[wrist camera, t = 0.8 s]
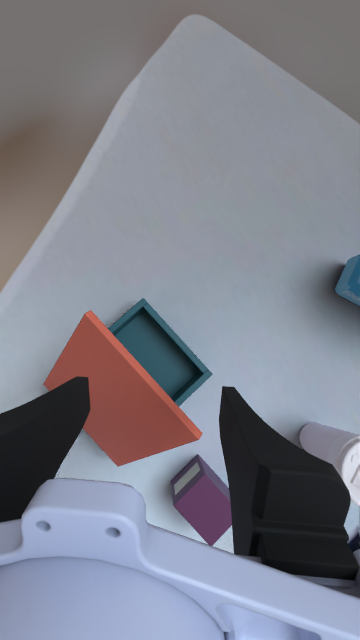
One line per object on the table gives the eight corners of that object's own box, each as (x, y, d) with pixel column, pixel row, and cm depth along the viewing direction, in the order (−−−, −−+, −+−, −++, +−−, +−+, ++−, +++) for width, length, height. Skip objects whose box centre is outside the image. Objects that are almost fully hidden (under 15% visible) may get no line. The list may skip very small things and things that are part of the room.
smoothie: (283, 419, 34) (370, 471, 20) (329, 405, 35) (446, 447, 21) (296, 470, 34) (395, 560, 20) (343, 456, 34) (471, 532, 20)
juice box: (202, 516, 32) (211, 547, 27) (170, 480, 32) (173, 505, 27) (229, 488, 33) (242, 514, 28) (197, 453, 33) (204, 473, 28)
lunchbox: (144, 302, 34) (143, 297, 30) (206, 370, 34) (212, 374, 30) (59, 377, 32) (46, 381, 28) (124, 449, 32) (120, 462, 28)
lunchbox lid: (91, 309, 19) (84, 313, 18) (203, 433, 19) (199, 440, 18) (48, 380, 28) (42, 384, 28) (121, 461, 28) (117, 466, 28)
